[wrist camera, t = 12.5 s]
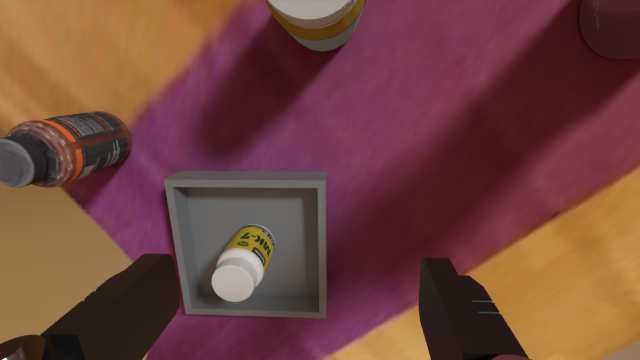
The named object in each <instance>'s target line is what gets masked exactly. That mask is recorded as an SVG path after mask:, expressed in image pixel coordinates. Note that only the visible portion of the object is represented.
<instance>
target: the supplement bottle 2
mask: <svg viewBox="0 0 640 360" xmlns="http://www.w3.org/2000/svg"><path fill="white" fill-rule="evenodd" d="M274 248H275V240H274V237H273V235H272V233H271V232H270V231H269V230H268V229H267V228H265V227H263V226H261V225H258V224H248V225H245V226H243V227H242V228H240V229H239V230H238V231H237V233H236V234H235V236H234V237H233V239H232V240H231V241H230V243H229V244H228V246H227V247H226V248H225V250H224V251H223V253H222V254H221V256H220V257H219V259H218V261H217V267H216V270H215V272H214V273H213V276H212V287H213V289H214V291H215V292H216V294H217V295H218V296H219V297H221V298H223V299H224V300H227V301H231V302H239V301H243V300H245V299H247V298H248V297H249V296H250V295H251V294H252V292H253V290H254V288H255V287H256V286H257V285H258V284H259V283H260V282H261V280H262V278H263V276H264V273H265V271H266V268H267V266H268V263H269V261H270V258H271V256H272V253H273V251H274Z"/></svg>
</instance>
